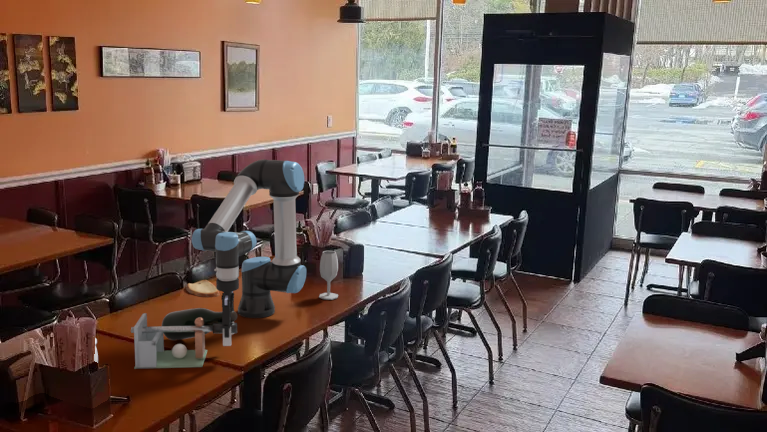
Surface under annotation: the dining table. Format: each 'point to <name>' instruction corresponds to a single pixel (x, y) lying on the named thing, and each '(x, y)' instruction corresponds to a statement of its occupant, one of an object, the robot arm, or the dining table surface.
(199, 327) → the foosball rod
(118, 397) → the dining table surface
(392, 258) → the dining table surface
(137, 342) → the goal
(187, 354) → the pitch mat
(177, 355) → the ball
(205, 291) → the slice of bread
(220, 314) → the dark wine bottle
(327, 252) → the wineglass
